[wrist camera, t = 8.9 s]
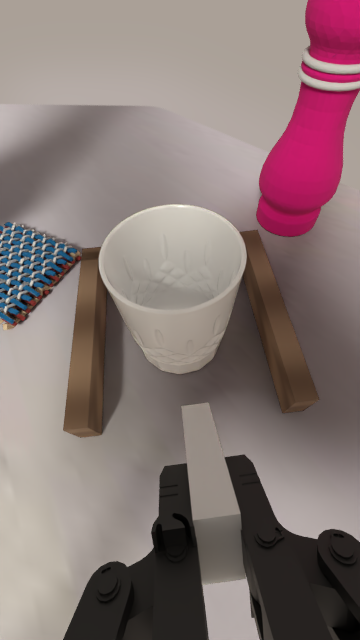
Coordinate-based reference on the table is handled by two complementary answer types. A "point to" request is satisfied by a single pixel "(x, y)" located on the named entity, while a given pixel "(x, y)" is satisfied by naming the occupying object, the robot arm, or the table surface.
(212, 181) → the table surface
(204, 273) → the white cup
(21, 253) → the woven mat
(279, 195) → the pepper mill
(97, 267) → the walnut bay
